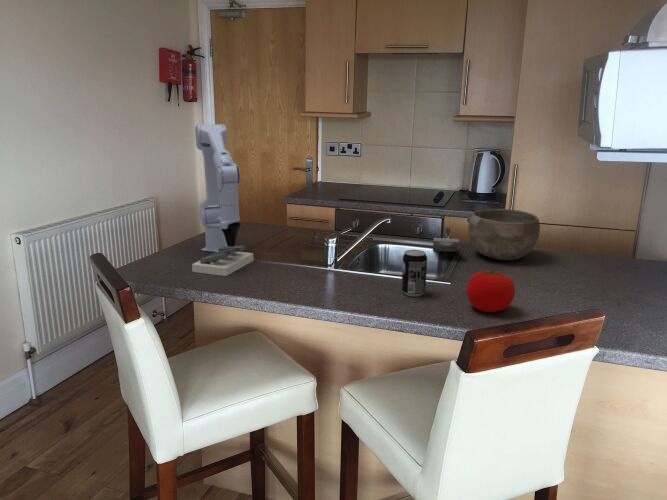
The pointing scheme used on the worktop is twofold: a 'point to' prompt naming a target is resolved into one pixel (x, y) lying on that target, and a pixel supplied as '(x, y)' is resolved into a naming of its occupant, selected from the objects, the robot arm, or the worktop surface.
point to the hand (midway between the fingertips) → (231, 246)
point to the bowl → (503, 233)
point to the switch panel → (224, 264)
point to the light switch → (445, 244)
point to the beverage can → (414, 273)
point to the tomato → (490, 291)
